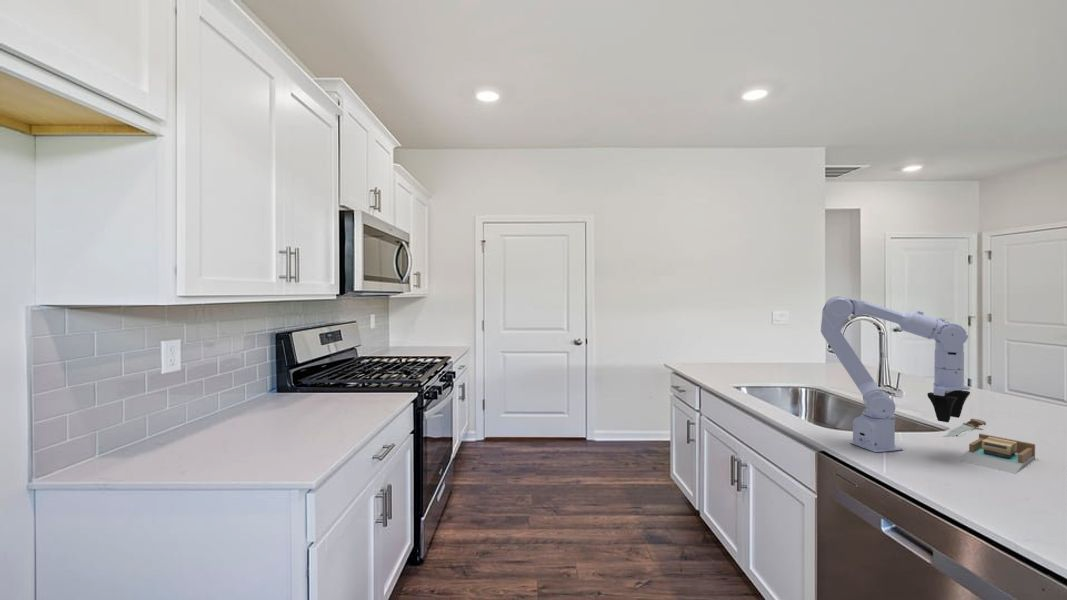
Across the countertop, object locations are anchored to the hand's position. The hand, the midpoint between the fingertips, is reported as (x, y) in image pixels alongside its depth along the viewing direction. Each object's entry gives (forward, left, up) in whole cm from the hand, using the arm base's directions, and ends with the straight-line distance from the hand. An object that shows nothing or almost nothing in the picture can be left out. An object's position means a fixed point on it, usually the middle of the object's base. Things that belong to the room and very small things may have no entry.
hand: (948, 419), depth 118 cm
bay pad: (+11, -4, -10) cm, 15 cm away
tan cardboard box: (+12, -4, -9) cm, 15 cm away
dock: (+9, -5, -11) cm, 15 cm away
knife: (+29, +16, -10) cm, 35 cm away
